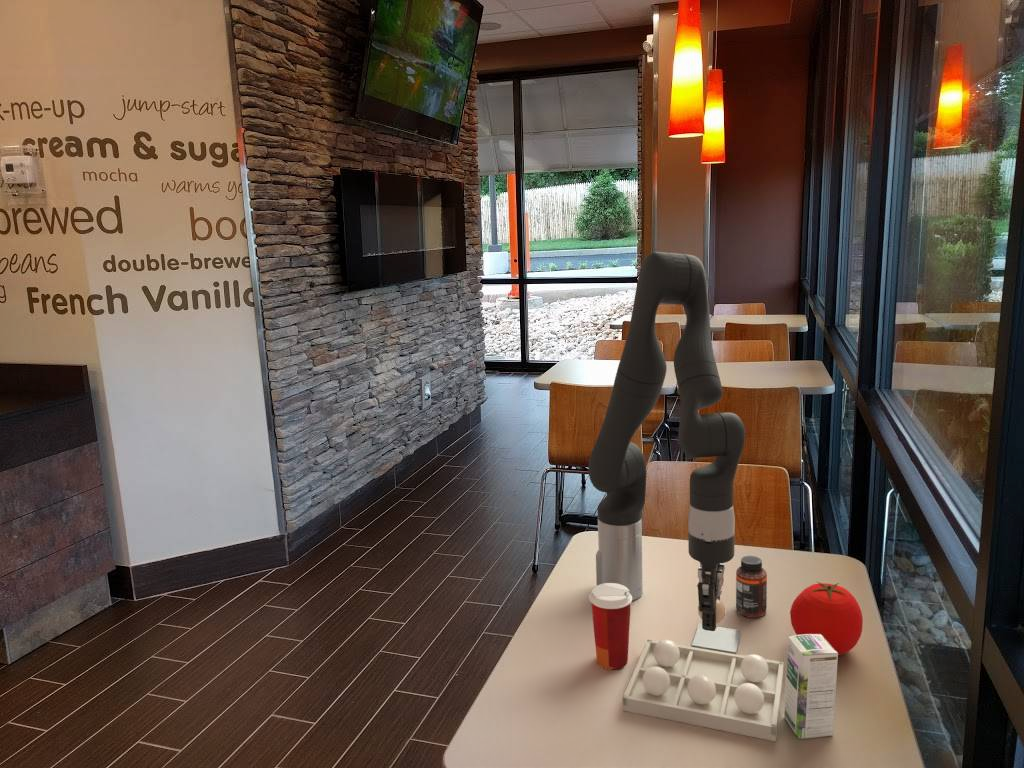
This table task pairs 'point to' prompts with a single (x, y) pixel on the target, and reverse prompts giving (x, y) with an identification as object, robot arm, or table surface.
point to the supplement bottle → (751, 587)
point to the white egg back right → (754, 668)
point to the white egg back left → (666, 653)
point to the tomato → (828, 615)
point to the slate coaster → (717, 639)
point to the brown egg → (717, 612)
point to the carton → (734, 701)
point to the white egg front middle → (701, 689)
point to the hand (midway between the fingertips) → (711, 621)
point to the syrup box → (810, 685)
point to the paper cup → (611, 624)
